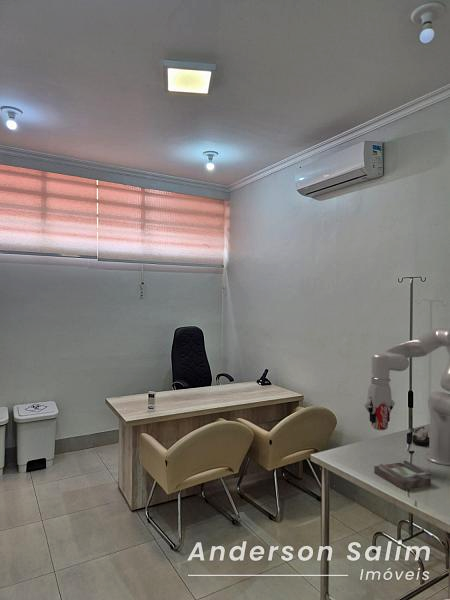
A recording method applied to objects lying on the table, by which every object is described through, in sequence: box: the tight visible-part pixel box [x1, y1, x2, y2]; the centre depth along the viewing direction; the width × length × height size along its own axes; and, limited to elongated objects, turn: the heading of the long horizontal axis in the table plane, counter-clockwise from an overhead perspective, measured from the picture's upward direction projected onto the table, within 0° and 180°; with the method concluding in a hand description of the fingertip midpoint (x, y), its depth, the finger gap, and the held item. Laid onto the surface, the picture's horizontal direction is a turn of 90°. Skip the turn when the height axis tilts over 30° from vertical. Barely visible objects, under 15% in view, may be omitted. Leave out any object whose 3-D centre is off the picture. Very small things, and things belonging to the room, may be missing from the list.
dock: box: [373, 460, 432, 491], centre depth 161 cm, size 14×16×5 cm
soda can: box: [370, 403, 389, 431], centre depth 176 cm, size 7×7×12 cm
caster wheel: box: [411, 426, 430, 448], centre depth 206 cm, size 7×11×10 cm
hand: (379, 421), depth 176 cm, fingers closed on soda can, 7 cm apart
